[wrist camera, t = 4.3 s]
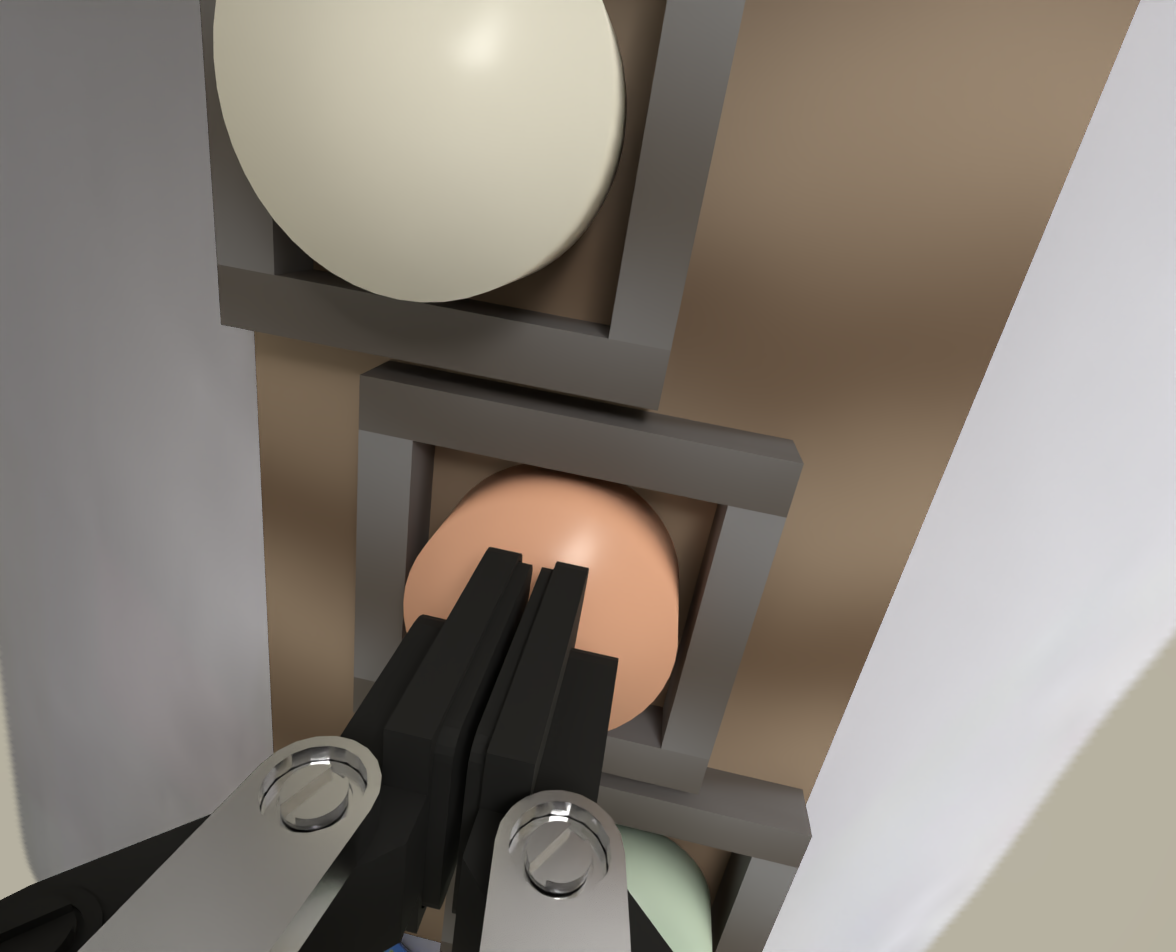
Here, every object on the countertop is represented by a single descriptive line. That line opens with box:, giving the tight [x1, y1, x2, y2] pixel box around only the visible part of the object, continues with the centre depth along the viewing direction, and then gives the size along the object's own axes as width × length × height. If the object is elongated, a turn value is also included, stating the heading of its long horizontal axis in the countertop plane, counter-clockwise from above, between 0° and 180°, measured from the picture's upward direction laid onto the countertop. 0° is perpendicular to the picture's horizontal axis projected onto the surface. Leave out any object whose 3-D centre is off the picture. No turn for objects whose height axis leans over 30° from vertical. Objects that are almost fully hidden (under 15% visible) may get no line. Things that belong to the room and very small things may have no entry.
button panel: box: [200, 0, 1140, 952], centre depth 14 cm, size 26×13×3 cm, turn 171°
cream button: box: [213, 0, 627, 302], centre depth 9 cm, size 5×5×2 cm
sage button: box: [615, 824, 712, 952], centre depth 15 cm, size 5×5×2 cm
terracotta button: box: [403, 464, 679, 731], centre depth 12 cm, size 5×5×2 cm
